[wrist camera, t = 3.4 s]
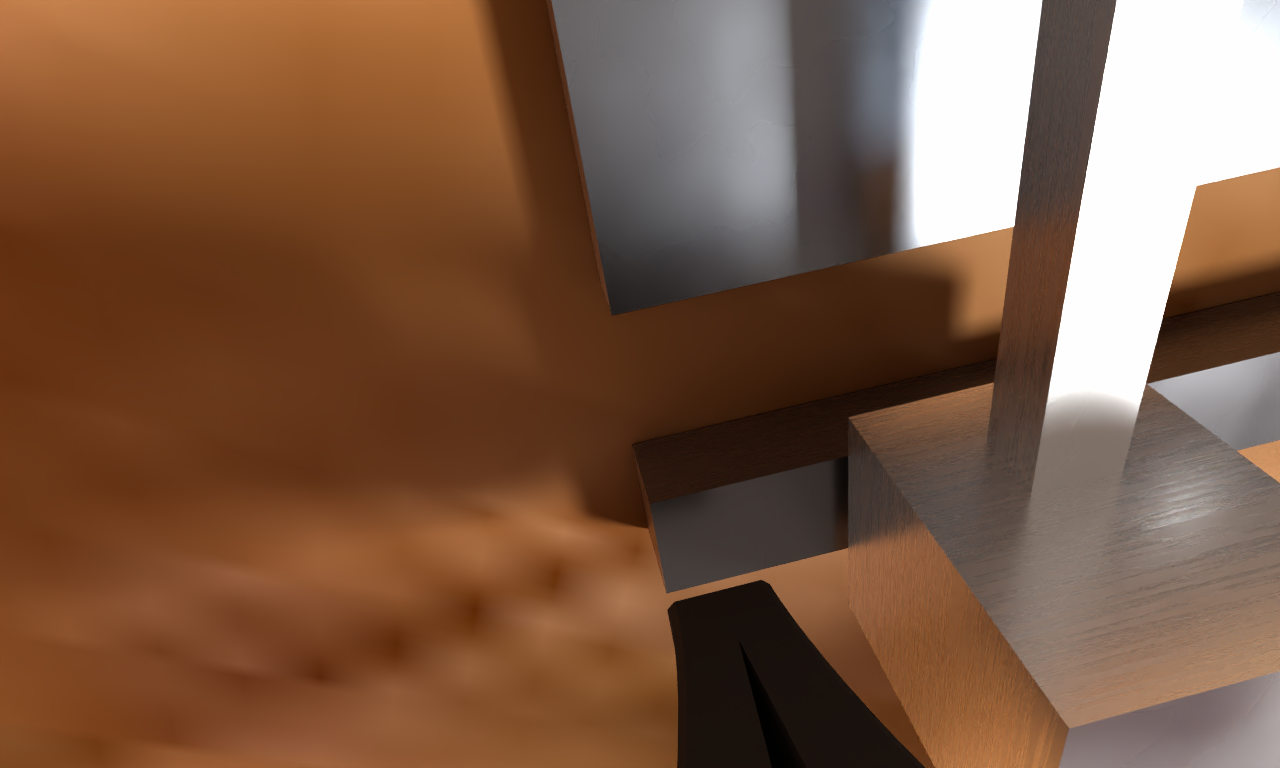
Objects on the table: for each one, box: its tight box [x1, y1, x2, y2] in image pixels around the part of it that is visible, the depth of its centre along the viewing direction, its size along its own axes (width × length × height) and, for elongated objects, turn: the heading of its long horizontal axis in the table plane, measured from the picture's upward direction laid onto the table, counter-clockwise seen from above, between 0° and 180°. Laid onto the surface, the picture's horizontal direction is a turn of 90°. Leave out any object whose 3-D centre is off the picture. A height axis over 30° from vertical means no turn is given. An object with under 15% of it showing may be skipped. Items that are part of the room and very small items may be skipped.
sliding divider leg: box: [848, 0, 1280, 768], centre depth 9 cm, size 11×4×5 cm, turn 8°
